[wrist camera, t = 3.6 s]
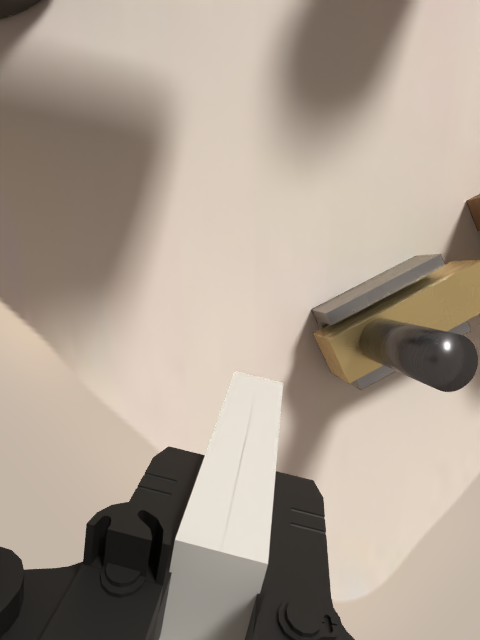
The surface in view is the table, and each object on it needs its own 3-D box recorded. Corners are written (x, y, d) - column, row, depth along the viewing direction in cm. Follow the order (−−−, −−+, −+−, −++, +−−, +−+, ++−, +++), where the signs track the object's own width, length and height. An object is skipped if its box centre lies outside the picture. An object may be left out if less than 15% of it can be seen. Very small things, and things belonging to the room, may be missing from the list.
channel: (311, 309, 35) (326, 313, 31) (415, 255, 36) (440, 254, 32) (343, 378, 36) (360, 389, 32) (443, 325, 37) (471, 330, 33)
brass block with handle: (313, 333, 34) (382, 363, 22) (451, 261, 35) (585, 255, 23) (331, 372, 34) (407, 421, 23) (466, 300, 35) (604, 313, 24)
